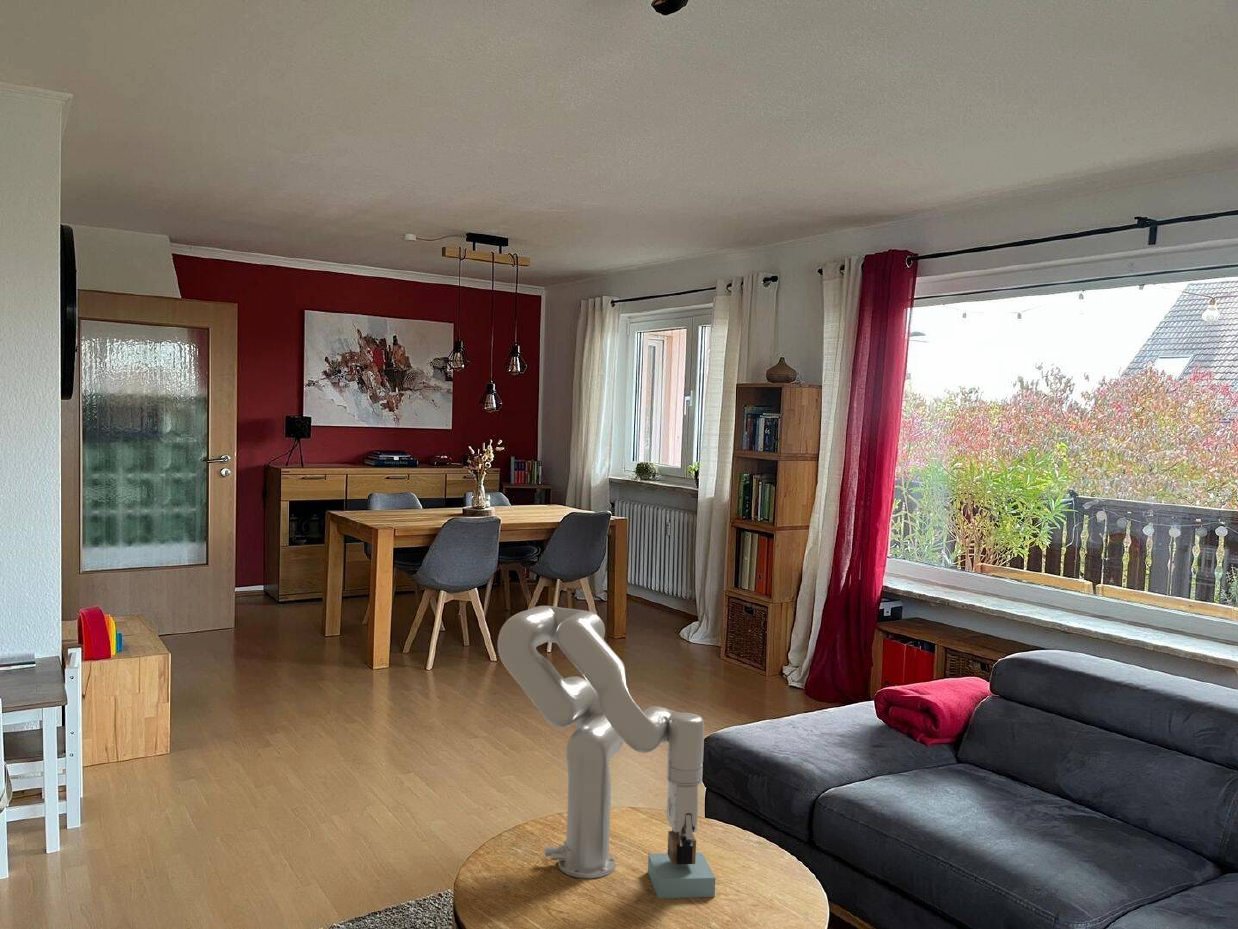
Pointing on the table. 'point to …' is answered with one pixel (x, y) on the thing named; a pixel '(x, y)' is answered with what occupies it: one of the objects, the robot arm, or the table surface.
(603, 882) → the table surface
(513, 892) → the table surface
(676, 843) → the walnut cube
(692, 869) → the plinth block
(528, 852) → the table surface
